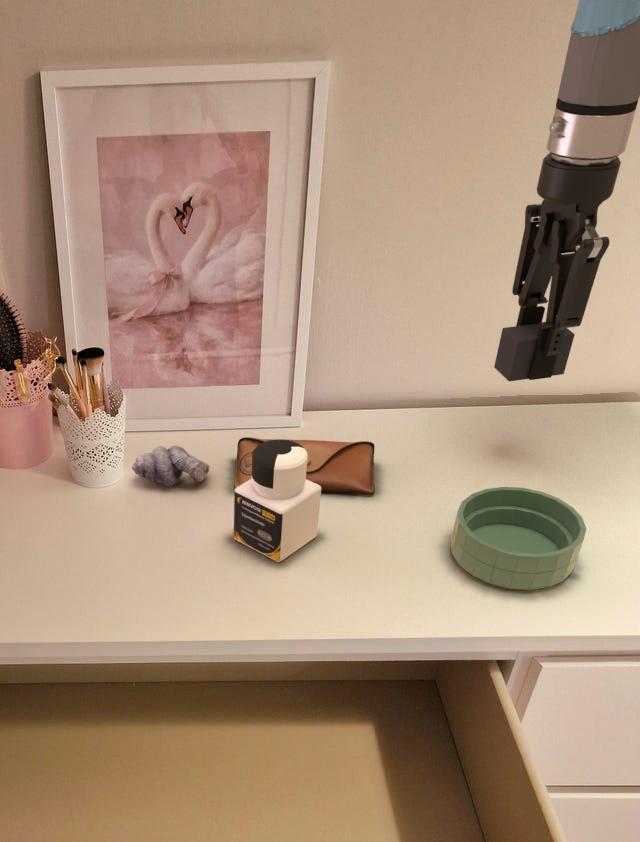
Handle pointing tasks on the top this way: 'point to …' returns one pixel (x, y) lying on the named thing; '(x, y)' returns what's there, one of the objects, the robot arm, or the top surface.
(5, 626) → the top surface
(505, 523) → the bowl
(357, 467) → the sunglasses case
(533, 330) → the eraser
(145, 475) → the seashell
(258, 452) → the medicine bottle
